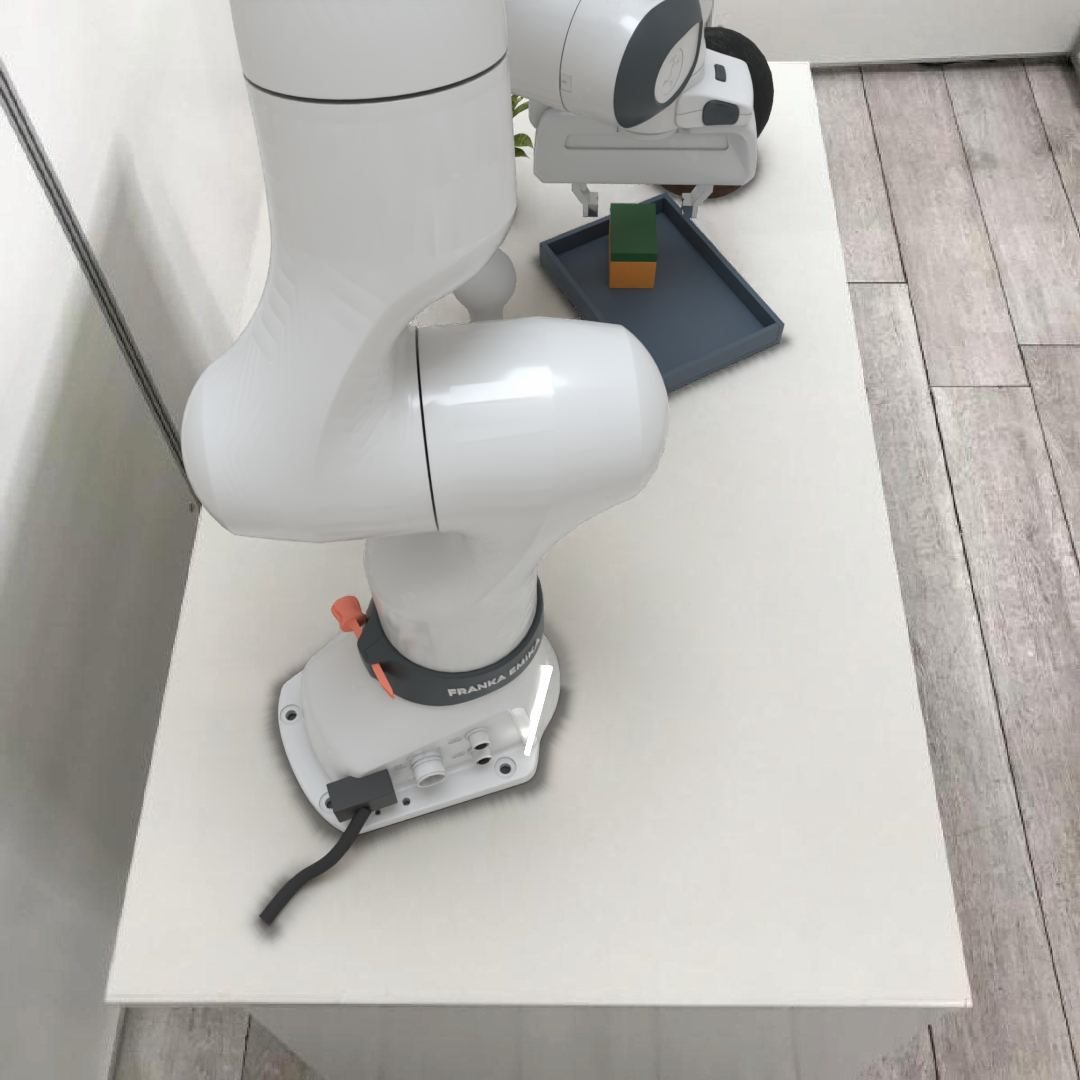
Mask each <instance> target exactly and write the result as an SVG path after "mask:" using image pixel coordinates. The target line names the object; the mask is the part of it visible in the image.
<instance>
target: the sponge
mask: <svg viewBox="0 0 1080 1080" xmlns="http://www.w3.org/2000/svg"><path fill="white" fill-rule="evenodd" d="M609 215H610V221H609V239H608V240H609V288H654V281H655V272H656V263H657V254H658V251H657V229H656V206H655V203H640V202H637V203H636V202H610V206H609Z"/></svg>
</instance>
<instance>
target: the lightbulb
mask: <svg viewBox="0 0 1080 1080" xmlns="http://www.w3.org/2000/svg"><path fill="white" fill-rule="evenodd" d="M516 286H517V271H516V268H515V265H514V263H513V261H512V259H511V258H510V257H509V255H507V253H505V252H504V251H503V250H502V249H501V248H499V249H498V250H497V252H496V253H495V254H494V256H493V257H492V258H491V260H490V261H489V262H488V263H487V264H486V265H485V267H484V268H483V269H482V270H481V271H480V272H479V273H478V274H477V275H476V276H474V277H473V278H472V279H471V280H469V281H468V282H467V283H465V284H464V285H462V286H461V287H459V288H458V289H456V290H454V291H453V292H452V293H453V295H454V297H455V299H456V300H457V301H458V302H459V303H460V304H461V305H462V306H463V307H464V308H465V309H466V311H467V312H468V315H469V319H470V322H479V321H489V320H500V319H503V316H504V315H503V313H504V309H505V306H506V305H507V304H508V303H509V301H510V300H511V298H512V297H513V294H514V292H515V291H516Z"/></svg>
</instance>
